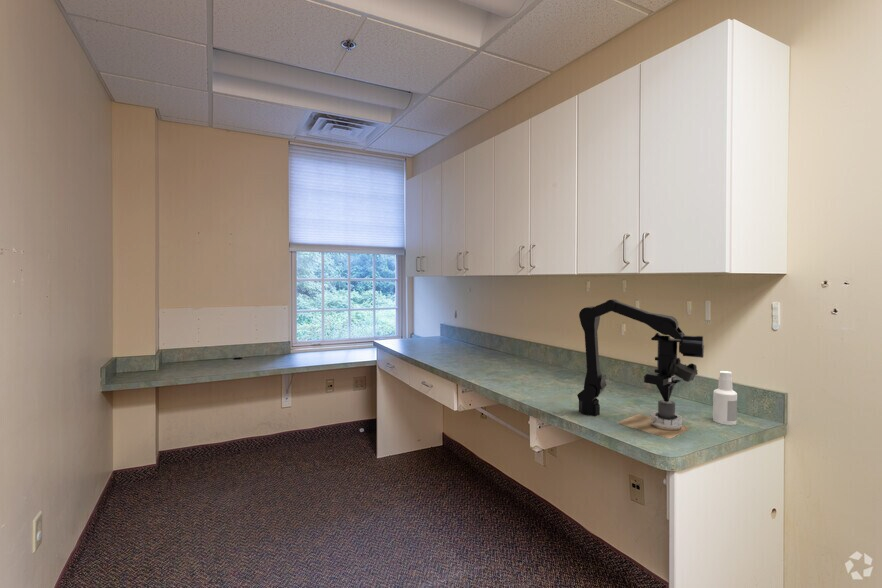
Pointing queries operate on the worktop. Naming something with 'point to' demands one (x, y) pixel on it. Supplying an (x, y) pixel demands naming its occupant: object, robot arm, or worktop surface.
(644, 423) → the board
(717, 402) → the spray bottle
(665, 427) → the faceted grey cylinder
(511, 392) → the worktop surface
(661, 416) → the cap
